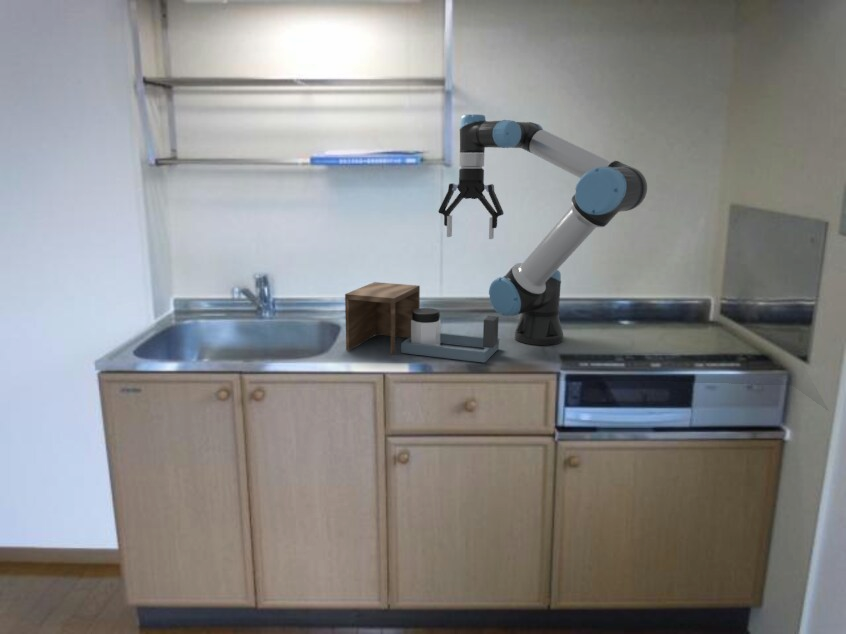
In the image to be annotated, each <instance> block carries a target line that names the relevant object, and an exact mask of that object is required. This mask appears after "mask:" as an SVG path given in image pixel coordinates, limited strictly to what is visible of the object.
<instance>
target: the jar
mask: <svg viewBox="0 0 846 634" xmlns="http://www.w3.org/2000/svg"><path fill="white" fill-rule="evenodd" d="M440 313H441V312H440V310H439V309H436V308H433V307H432V308H431V307H421V308H419V309H415V310H413V311H412V320H411V343H417V344H426V345H435V346H441V343H440V333H441V328H442V327H441V326H442V325H441V322H442V321H441V320H442V319H441V314H440Z"/></svg>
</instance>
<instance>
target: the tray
mask: <svg viewBox="0 0 846 634" xmlns="http://www.w3.org/2000/svg"><path fill="white" fill-rule="evenodd" d="M482 333H483V334H482V336H477V335H468V334H467V335H466V334H458V333H457V334H456V333H447V332H440V344H448V345H454V346H455V345H456V346H463V347H473V348H474V347H475V348H480V349H481V348H482V350H479V349H478V350H477V349H471V348H469V349H468V348H460V347H452V346H451V347H450V346H442V345H440V346H435V345H426V344H417V343H411V337H410V338H406V339H405V340H403V341H402V342H401V345H400V346H401V351H400V352H401V354H409V355H416V356H427V357H434V358H441V359H452V360H459V361H460V360H461V361H467V362H477V363H478V362H479V363H486V362H487V361H488V360H489V359H490V358H491V357H492V356H493V355H494V354H495V352H497V350H499V349H500V347H499V346H500V338H499V316H494V315H493V316H492V315H488V316H487V317H485V318H484V319H483V331H482Z"/></svg>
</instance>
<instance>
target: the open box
mask: <svg viewBox="0 0 846 634" xmlns="http://www.w3.org/2000/svg"><path fill="white" fill-rule="evenodd" d="M420 286H421V285H416V284H415V285H414V284H403V283H389V282H380V281H379V282H377V281H374V282H371V283H369V284H367V285H364V286H361V287H359V288H356V289H354V290H352V291H350V292H347V293H345V294H344V302H345V303H344V306H345V307H344V308H345V309H344V310H345V315H344V317H345V349H346V351H351V350H352V349H354V348H356V347H357V346H359V345H361V344H363V343H364V342H366V341H368V340H370V339H371V338H373V337H375V336H379V335H380V336H388V337H390V356H396V337H397V338H406V339H408V338H410V337H411V320H412V311H413V310H415V309H419V308H420V307H421V306H420V301H421V300H420V298H421V297H420V296H421V295H420V294H421V292H420V291H421V287H420Z"/></svg>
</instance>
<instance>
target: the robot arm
mask: <svg viewBox="0 0 846 634" xmlns="http://www.w3.org/2000/svg"><path fill="white" fill-rule="evenodd" d="M459 123H460V125H459V159H458V160H459V163H458V164H459V167H460V168H459V171H458V184H455V183H448V190H447V192H446V194H445V196H444V198H443V200H442V202H441V205H440V206H439V209H438V211H437V212H438V214H441V215H443V226H445V227H446V238H450V237H452V236H453V215H452V214H451V213H452V212H453V211H454V209H456V207H457V206H458V205H459V204H460V203H461V202H462V200H463V199H465V200H468V199H469V200H470V199H471V200H477V199H478V200H479V201H480V203H481V204H482V205H483V206H484V208H485V209H486V211H488V214H489V215H490V216H491V217H489V221H488V222H489V223H488V224H489V225H488V226H489V227H488V240H493V239H494V236H495V235H494V234H495V229H497V227H498V218H499V217H501V216H503V215H504V214H505V213H504V210H503V208H502V206H501V203H500V201H499V199H498V196H497V194H496V192H495V185H494V184H493V183H490V184H485V183H484V181H485V170H484V168H483V167H485V149H486V148H499V149H501V148H502V149H509V148H513V149H522V150H524V151H527V152H528V153H530V154H533V155H535V156H536V157H538V158H541V159H543V160H544V161H546V162H548V163H550V164H552V165H554V166H556V167H557V168H560V169H562V170H564V171H566V172H568V173H570V174H572V175H574V176H575V177H578V178H579V179H578V181H577V183H576V185H575V187H574V188H575V194H573V196H572V198H571V199H570V200H571V203H570V204H571V207H570V208H569V209H568V210H567V212H566V213H565V214H564V215H563V216H562V218H561V219H560V220H559V221H558V222H557V223H556V224H555V225H554V227H553V228H552V229H551V230H550V231H549V233H548V234H547V235H546V236H544V238H543V240H541V241H540V243H539V244H538V245H537V246H536V247H535V248H534V250H533V251H532V252H531V253H530V254H529V256H527V258H526V259H525V260H524V261H523V262H517V263H515V264H514V265H513V266H512V267H511V268H510V269H509V271H508V272H507V273H506V274H505V275H504V276H499V277H496V278H495V279H494V280H493V281H492V282H491V283H490V285H489V289H488V295H489V301H490V305H491V306H492V308H493V309H494V311H496V313H497V314H500V315H501V316H504V317H510V316H511V317H514V316H517V315H520V318H519V320H518V323H517V325H516V327H515V330H514V339H515V340H516V341H517V342H520V343H521V344H522V343H523V344H527V345H531V346H536V345H537V346H551V345H552V346H553V345H554V346H555V345H558V344H561V343H562V342H563V341H564V331H563V328H562V324H561V321H560V301H561V300H560V298H561V284H562V280H561V271H560V270H559V269H560V267H561V266H562V265H563V264H564V263H565V262H566V261H567V260H568V259H569V258H570V256H571V255H572V254H574V252H575V251H577V249H578V248H579V247H580V246H581V244H583V243H584V241H586V239H588V237H589V236H590V235H591V234H592V232H594V231H595V230H596V229H597V228H605V227H606V226H607V225H608V224H609V223H610V222H611V220H613V219H614V218H615V217H616V215H617V214H618V213H619V212H620V213H621V212H626V211H627V212H628V211H632V210H634V209H635V208H637V207H639V206H640V205H641V204H642V203H643V202H644V200H645V198H646V197H647V196H646V195H647V192H648V182H647V179H646V177H645V175H644V174H643V173H642V172H641V171H640V170H639V169H637V168H635V167H632V166H630V165H627V164H626V163H623V162H621V161H619V160H616V159H615V160H612V161H609V160H608V159H605V158H603V157H601V156H599V155H597V154H595V153H593V152H591V151H588V150H587V149H585V148H582V147H580V146H578V145H577V144H574V143H572V142H569V141H568V140H565V139H564V138H561V137H559V136H557V135H555V134H554V133H551V132H549V131H547V130H544V129H543V127H542V126H541V125H540V124H538V123H536V122H533V121H532V122H531V121H527V122H525V121H515V120H506V119H502V120H489V121H488V120H486V116H485V115H484V114H478V113H477V114H476V113H475V114H464V115H462V116H461V117H460V122H459ZM456 190H458V191H459V194H458V195H456V198H455V199H454V200H453V201H452V203H450V201H451V199H452V197H453V195H454V193H455V191H456ZM485 190H486V192H487V193H488V195H489V197H490V200H491V201H492V204H493V206H494V207H493V206H492V205H491V203H490V202H489V200H488V199H487V198H486V196H485V195H484V194H483V192H485ZM449 204H450V205H449ZM448 205H449V206H448ZM550 344H551V345H550Z"/></svg>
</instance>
